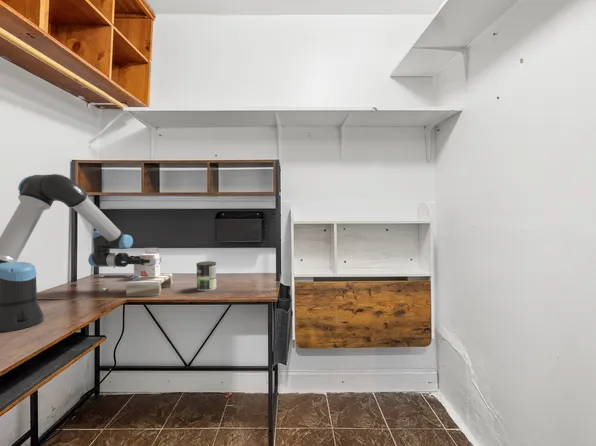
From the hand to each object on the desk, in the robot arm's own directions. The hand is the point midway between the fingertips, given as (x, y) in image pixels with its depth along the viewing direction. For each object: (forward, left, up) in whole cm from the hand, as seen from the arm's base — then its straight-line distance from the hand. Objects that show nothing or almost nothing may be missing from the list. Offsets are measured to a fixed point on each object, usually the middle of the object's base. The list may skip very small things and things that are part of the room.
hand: (159, 260), depth 166 cm
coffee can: (+3, -24, -17) cm, 29 cm away
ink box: (+31, +21, -17) cm, 41 cm away
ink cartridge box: (+1, +5, -9) cm, 10 cm away
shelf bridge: (+1, +5, -17) cm, 17 cm away
